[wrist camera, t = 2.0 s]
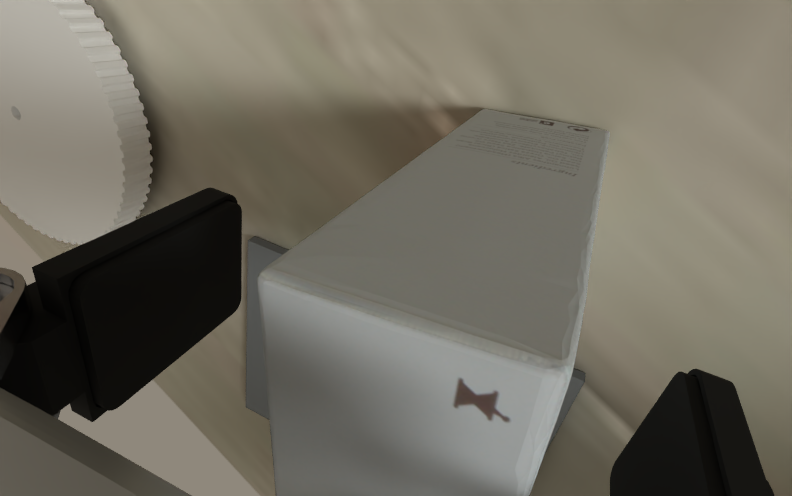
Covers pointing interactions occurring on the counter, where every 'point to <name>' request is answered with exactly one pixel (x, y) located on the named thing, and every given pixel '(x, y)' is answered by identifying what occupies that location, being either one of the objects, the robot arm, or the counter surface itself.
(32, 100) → the plastic lid
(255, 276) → the mat
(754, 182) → the counter surface
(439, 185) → the skincare box
